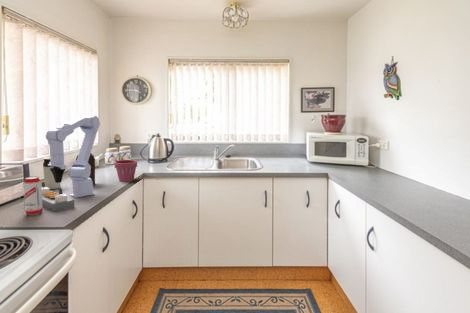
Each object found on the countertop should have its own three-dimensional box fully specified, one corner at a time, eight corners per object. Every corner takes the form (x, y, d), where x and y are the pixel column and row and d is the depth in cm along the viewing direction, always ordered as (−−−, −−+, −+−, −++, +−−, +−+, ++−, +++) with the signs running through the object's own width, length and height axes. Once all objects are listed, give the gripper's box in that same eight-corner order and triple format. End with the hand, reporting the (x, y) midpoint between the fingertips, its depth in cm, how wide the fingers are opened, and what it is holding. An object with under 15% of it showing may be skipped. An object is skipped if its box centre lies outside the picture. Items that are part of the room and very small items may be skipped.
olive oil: (100, 183, 190) (98, 144, 186) (86, 187, 180) (84, 145, 176) (87, 182, 193) (85, 143, 190) (73, 185, 183) (70, 144, 180)
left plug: (46, 191, 154) (46, 180, 154) (49, 193, 152) (49, 181, 151) (38, 193, 151) (37, 181, 150) (40, 194, 149) (40, 183, 148)
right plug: (64, 199, 142) (63, 186, 141) (67, 200, 140) (66, 188, 139) (54, 200, 139) (54, 188, 138) (58, 202, 137) (57, 189, 136)
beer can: (32, 211, 135) (29, 176, 133) (46, 211, 135) (43, 176, 133) (22, 215, 129) (19, 178, 127) (36, 216, 129) (33, 179, 126)
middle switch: (55, 195, 148) (54, 192, 148) (57, 195, 146) (56, 192, 146) (47, 196, 145) (46, 194, 145) (48, 196, 143) (48, 194, 143)
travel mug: (55, 189, 173) (53, 158, 171) (41, 189, 173) (39, 158, 171) (63, 186, 181) (61, 156, 178) (50, 186, 181) (48, 156, 179)
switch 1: (52, 194, 150) (51, 191, 150) (54, 193, 148) (53, 191, 148) (44, 195, 147) (43, 193, 147) (46, 195, 146) (45, 192, 146)
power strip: (51, 197, 158) (51, 190, 157) (74, 207, 142) (74, 199, 141) (32, 200, 151) (31, 194, 150) (53, 211, 135) (53, 204, 134)
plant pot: (130, 183, 192) (130, 163, 191) (110, 182, 195) (109, 162, 193) (141, 178, 206) (141, 160, 205) (122, 177, 209) (121, 159, 207)
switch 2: (58, 196, 146) (57, 194, 146) (60, 196, 144) (59, 194, 144) (50, 198, 143) (49, 195, 143) (52, 198, 141) (51, 195, 141)
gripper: (41, 153, 146) (43, 181, 147) (54, 156, 137) (55, 185, 139) (57, 152, 151) (58, 179, 153) (70, 155, 142) (71, 183, 144)
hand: (58, 182), depth 146 cm, fingers closed
